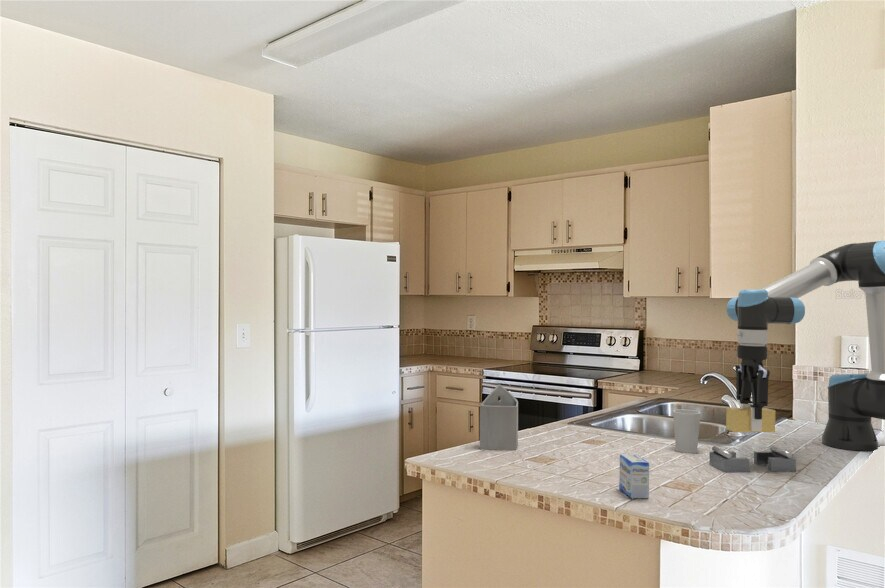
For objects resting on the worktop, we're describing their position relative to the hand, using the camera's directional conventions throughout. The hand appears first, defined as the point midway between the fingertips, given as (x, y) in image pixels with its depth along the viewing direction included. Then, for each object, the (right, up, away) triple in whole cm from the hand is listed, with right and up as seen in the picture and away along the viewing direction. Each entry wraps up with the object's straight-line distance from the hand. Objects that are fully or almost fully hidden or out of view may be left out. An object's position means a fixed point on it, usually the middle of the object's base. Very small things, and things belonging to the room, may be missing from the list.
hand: (751, 428), depth 176 cm
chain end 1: (-6, -11, 0) cm, 13 cm away
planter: (-66, -11, +21) cm, 70 cm away
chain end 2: (+7, -11, 0) cm, 13 cm away
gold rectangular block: (0, -1, 0) cm, 1 cm away
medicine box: (-40, -11, -24) cm, 48 cm away
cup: (-11, -11, +19) cm, 25 cm away
